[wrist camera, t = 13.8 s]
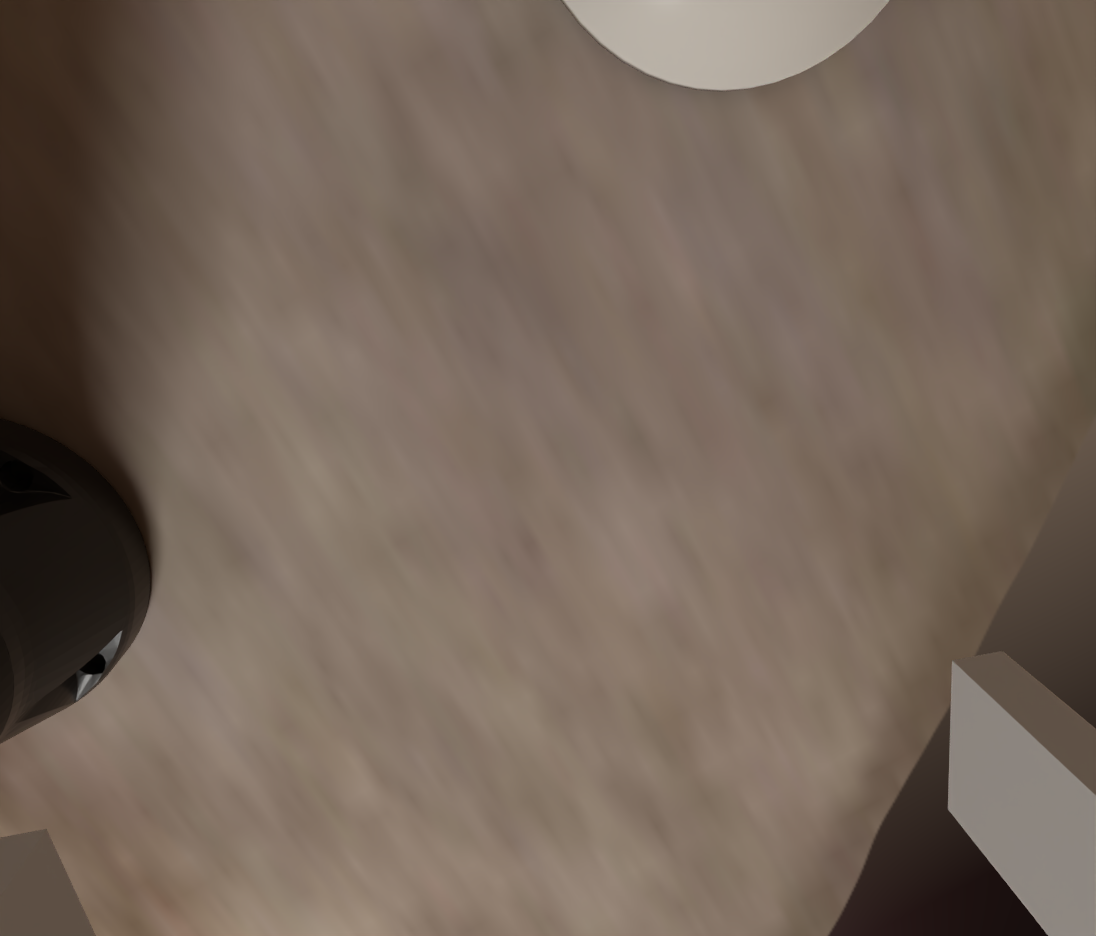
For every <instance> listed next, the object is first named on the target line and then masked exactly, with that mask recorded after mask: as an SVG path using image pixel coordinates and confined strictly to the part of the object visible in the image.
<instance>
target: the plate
mask: <svg viewBox="0 0 1096 936" xmlns="http://www.w3.org/2000/svg"><path fill="white" fill-rule="evenodd" d="M561 1H562V3H563V4H564V5H565V6H566V8H567V9H568V10H569V12H570V13H571V14H572V16H573V17H574V18H575V19H576V21H577V22H578V23H579V25H580V26H581V27H582V28H583V29H584V30H585V31H586V32H587V33H588V34H589V35H590V36H591V37H592V38H593V39H594V40H595V41H596V42H597V43H598V44H599V45H601V46H602V47H603V48H605V49H606V50H607V51H609V52H610V53H611V54H613V55H614V56H615V57H616V58H618V59H619V60H620V61H622V62H623V63H625V64H627V65H629V66H631V67H632V68H634V69H636V70H638V71H640V72H641V73H643V74H645V75H647V76H650V77H653V78H655V79H658V80H660V81H663V82H666V83H668V84H672V85H676V86H681V87H685V88H690V89H694V90H707V91H733V90H746V89H751V88H755V87H759V86H764V85H768V84H772V83H775V82H778V81H780V80H783V79H786V78H788V77H791V76H793V75H796V74H798V73H801V72H803V71H805V70H807V69H809V68H810V67H812V66H814V65H816V64H818V63H820V62H821V61H823V60H825V59H827V58H828V57H830V56H831V55H832V54H834V53H835V52H837V51H838V50H839V49H841V48H842V47H843V46H845V45H846V44H848V43H849V42H850V41H851V40H852V39H853V38H855V37H856V36H857V35H858V34H859V33H860V32H861V31H862V30H863V29H864V28H865V27H866V26H867V25H869V24H870V23H871V22H872V20H873V19H874V18H875V17H876V16H877V15H878V13H879V12H880V11H881V10H882V9H883V8H884V6H885V5H886V4H887V3H888V2H889V1H890V0H561Z"/></svg>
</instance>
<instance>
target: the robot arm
mask: <svg viewBox="0 0 1096 936" xmlns="http://www.w3.org/2000/svg"><path fill="white" fill-rule="evenodd" d="M149 595H150V569H149V561H148V557H147V552H146V548H145V545H144V542H143V539H142V536H141V534H140V531H139V528H138V526H137V524H136V522H135V520H134V518H133V516H132V515H131V513H130V511H129V510H128V508H127V506H126V505H125V503H124V502H123V500H122V499H121V498H120V496H119V495H118V494H117V492H116V491H115V490H114V489H113V487H112V486H111V485H110V484H109V483H108V482H107V481H106V480H105V479H104V478H103V477H102V476H101V475H100V474H99V473H98V472H97V471H96V470H95V469H94V468H93V467H92V466H91V465H89V464H88V463H87V462H86V461H85V460H83V459H82V458H81V457H79V456H78V455H77V454H75V453H74V452H72V451H71V450H69V449H68V448H66V447H65V446H63V445H62V444H60V443H58V442H56V441H55V440H53V439H51V438H49V437H47V436H45V435H43V434H41V433H39V432H37V431H34V430H32V429H30V428H27V427H25V426H22V425H19V424H16V423H13V422H10V421H7V420H3V419H0V744H1V743H3V742H4V741H6V740H8V739H10V738H12V737H14V736H15V735H17V734H19V733H21V732H23V731H25V730H27V729H28V728H30V727H32V726H34V725H36V724H38V723H40V722H41V721H43V720H45V719H47V718H49V717H51V716H53V715H54V714H56V713H58V712H60V711H62V710H64V709H66V708H67V707H69V706H71V705H72V704H74V703H76V702H77V701H79V700H80V699H81V698H83V697H84V696H85V695H87V694H88V693H89V692H90V691H92V690H93V689H94V688H95V687H96V686H97V685H98V684H99V683H100V682H101V681H102V680H103V679H104V678H105V677H106V676H107V675H108V674H109V672H110V671H111V670H112V669H113V667H114V666H115V665H116V664H117V662H118V661H119V660H120V659H121V657H122V656H123V655H124V654H125V652H126V651H127V650H128V648H129V647H130V646H131V644H132V643H133V641H134V640H135V638H136V636H137V634H138V632H139V630H140V628H141V626H142V623H143V621H144V618H145V615H146V611H147V607H148V602H149ZM950 722H951V723H950V757H949V791H948V792H949V793H948V809H949V811H950V812H951V813H952V815H953V816H954V817H955V818H956V819H957V821H958V822H959V823H960V825H961V826H962V827H963V829H964V830H965V831H966V832H967V833H968V835H969V836H970V837H971V839H972V840H973V841H974V842H975V844H976V845H977V846H978V847H979V849H980V850H981V851H982V852H983V854H984V855H985V856H986V858H987V859H988V860H989V861H990V863H991V864H992V865H993V866H994V868H995V869H996V870H997V871H998V872H999V874H1000V875H1001V876H1002V878H1003V879H1004V880H1005V881H1006V883H1007V884H1008V885H1009V887H1010V888H1011V889H1012V890H1013V891H1014V893H1015V894H1016V895H1017V896H1018V898H1019V899H1020V900H1021V902H1022V903H1023V904H1024V905H1025V907H1026V908H1027V909H1028V910H1029V912H1030V913H1031V914H1032V915H1033V917H1034V918H1035V919H1036V921H1037V922H1038V923H1039V924H1040V926H1041V927H1042V928H1043V929H1044V931H1045V932H1046V933H1047V934H1048V936H1096V729H1095V728H1094V727H1093V726H1092V725H1090V724H1089V723H1088V722H1087V721H1086V720H1084V719H1083V718H1082V717H1081V716H1079V715H1078V714H1077V713H1076V712H1075V711H1073V710H1072V709H1071V708H1070V707H1069V706H1068V705H1066V704H1065V703H1064V702H1063V701H1062V700H1060V699H1059V698H1058V697H1057V696H1055V695H1054V694H1053V693H1052V692H1051V691H1050V690H1048V689H1047V688H1046V687H1045V686H1044V685H1042V684H1041V683H1040V682H1039V681H1038V680H1036V679H1035V678H1034V677H1033V676H1032V675H1030V674H1029V673H1028V672H1027V671H1026V670H1024V669H1023V668H1022V667H1021V666H1020V665H1018V664H1017V663H1016V662H1015V661H1014V660H1012V659H1011V658H1010V657H1009V656H1008V655H1006V654H1005V653H1004V652H1003V651H1001V652H995V653H990V654H985V655H979V656H974V657H969V658H963V659H958V660H952V686H951V721H950ZM0 936H96V935H95V933H94V931H93V929H92V927H91V924H90V922H89V920H88V918H87V916H86V914H85V911H84V909H83V907H82V905H81V903H80V901H79V898H78V896H77V894H76V892H75V890H74V888H73V885H72V883H71V881H70V879H69V877H68V875H67V872H66V870H65V868H64V866H63V864H62V862H61V859H60V857H59V855H58V853H57V851H56V849H55V846H54V844H53V842H52V840H51V838H50V836H49V833H48V831H47V829H44V830H39V831H34V832H28V833H23V834H17V835H12V836H7V837H1V838H0Z"/></svg>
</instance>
